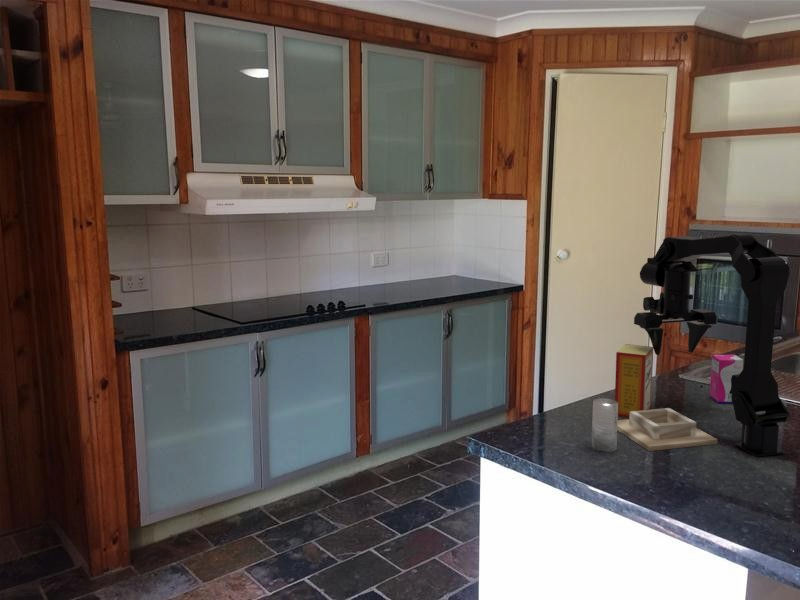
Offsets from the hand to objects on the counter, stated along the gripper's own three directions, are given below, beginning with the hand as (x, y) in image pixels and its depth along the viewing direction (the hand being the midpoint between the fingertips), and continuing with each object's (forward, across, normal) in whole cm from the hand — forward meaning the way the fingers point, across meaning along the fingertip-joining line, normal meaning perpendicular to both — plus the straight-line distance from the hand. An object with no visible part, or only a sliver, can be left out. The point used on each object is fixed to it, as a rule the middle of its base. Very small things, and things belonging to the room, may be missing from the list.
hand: (674, 353), depth 160 cm
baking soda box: (+14, +10, -2) cm, 17 cm away
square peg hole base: (+14, +11, +14) cm, 23 cm away
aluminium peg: (+14, +27, +18) cm, 36 cm away
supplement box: (+14, -18, -4) cm, 23 cm away
